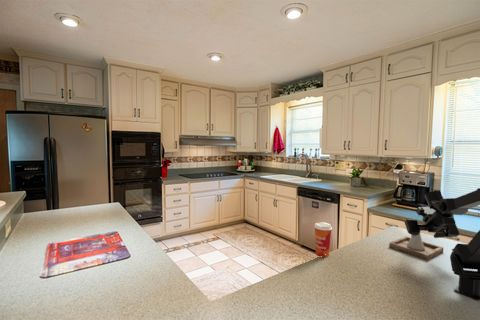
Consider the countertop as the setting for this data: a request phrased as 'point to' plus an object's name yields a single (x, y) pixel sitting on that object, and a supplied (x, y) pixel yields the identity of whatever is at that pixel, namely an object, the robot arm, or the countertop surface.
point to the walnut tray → (425, 254)
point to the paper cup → (322, 238)
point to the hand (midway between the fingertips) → (422, 236)
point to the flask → (416, 243)
